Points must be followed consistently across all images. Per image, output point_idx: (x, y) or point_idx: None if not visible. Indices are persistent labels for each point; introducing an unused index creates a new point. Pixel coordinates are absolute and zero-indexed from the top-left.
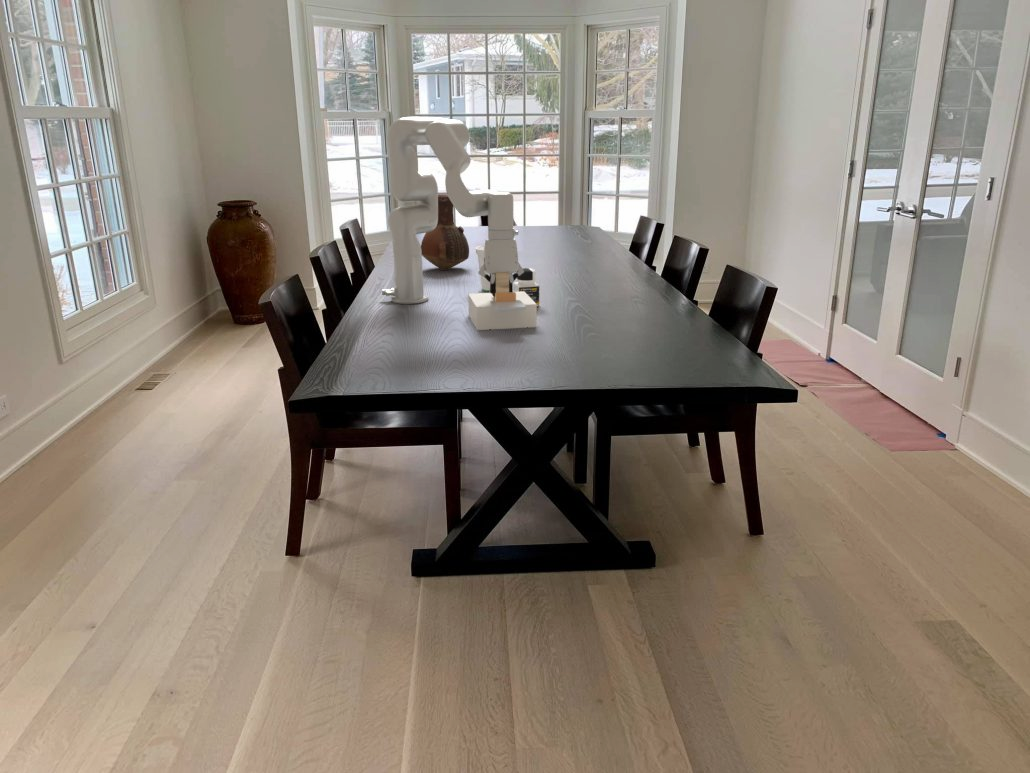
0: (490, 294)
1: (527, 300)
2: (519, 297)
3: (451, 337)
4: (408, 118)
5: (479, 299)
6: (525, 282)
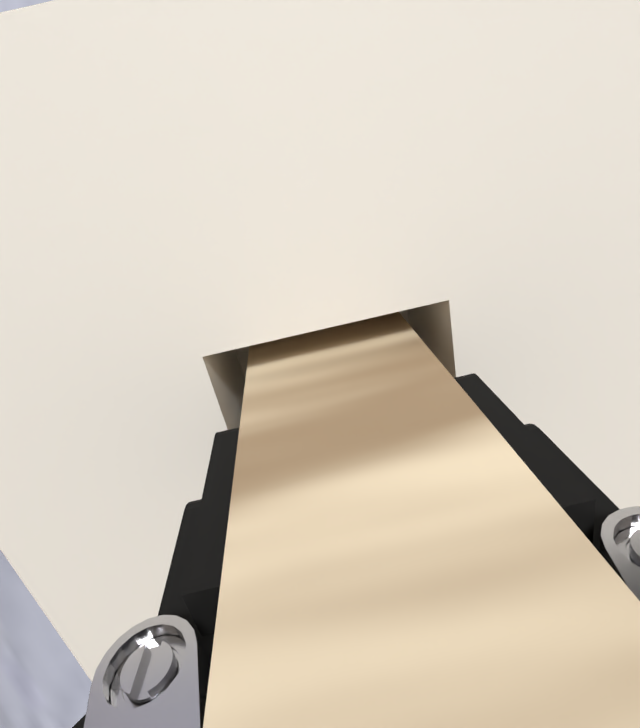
0: (155, 151)
1: (635, 485)
2: (585, 349)
3: (52, 675)
4: None
5: (64, 479)
6: None
